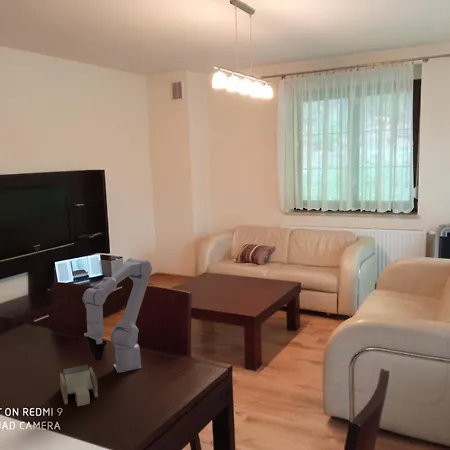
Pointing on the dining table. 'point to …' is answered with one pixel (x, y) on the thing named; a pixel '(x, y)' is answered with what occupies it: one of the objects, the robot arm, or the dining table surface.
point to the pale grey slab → (77, 378)
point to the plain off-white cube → (82, 396)
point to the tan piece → (64, 386)
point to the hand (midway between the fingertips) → (96, 356)
